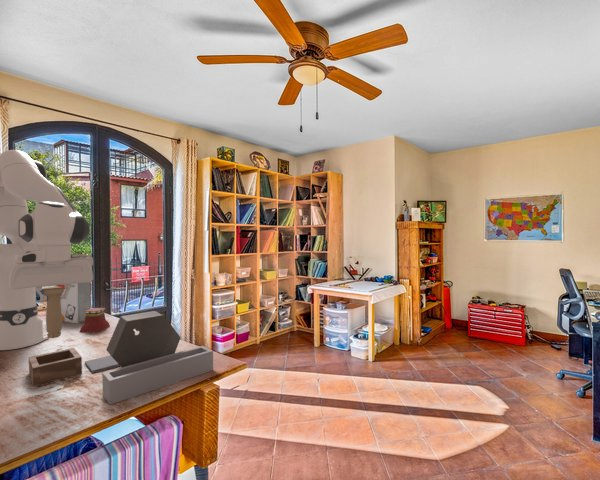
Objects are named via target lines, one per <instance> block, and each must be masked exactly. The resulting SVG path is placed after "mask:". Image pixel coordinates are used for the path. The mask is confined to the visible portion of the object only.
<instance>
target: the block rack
mask: <svg viewBox="0 0 600 480" xmlns="http://www.w3.org/2000/svg"><path fill="white" fill-rule="evenodd" d="M212 371H214V350H212V349H211V348H208V347H206V346H204V345H200V346H196V347H194V348H189V349H186V350H182V351H177V352H175V353H174V354H170V355H167V356H163V357H159V358H155V359H152V360H148V361H144V362H141V363H137V364H133V365H129V366H126V367H117V368H115V369H112V370H111V369H110V370H107V371H104V372H102V373H101V374H102V377H101V378H102V396H103V398H104V399H105V401H106V402H107V403H108V404H109V405H113V404H116V403H119V402H123V401H125V400H127V399H132V398H135V397H137V396H140V395H143V394H146V393H149V392H152V391H155V390H158V389H161V388H163V387H164V388H165V387H167V386H170V385H172V384H176V383H179V382H182V381H185V380H187V379H191V378H194V377H197V376H200V375H203V374H205V373H208V372H212Z"/></svg>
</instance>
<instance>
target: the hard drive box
mask: <svg viewBox="0 0 600 480" xmlns="http://www.w3.org/2000/svg"><path fill="white" fill-rule="evenodd" d="M91 282H92V281H91ZM91 282H89V283H78V284H71V289H70V290H69V292H68V293H67V299H62V300H61V299H60V300H61V312H62V322H65V323H72V324H73V323H74V324H81V323H83V322H85V316H86V313H85V312H84V311H86V310H89V309H92V302H91V301H92V292H91V291H92V289H91V288H92V287H91ZM53 287H64V291H65V289H66V288H65V285H56V286H53ZM63 293H64V292H63Z"/></svg>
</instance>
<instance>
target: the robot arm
mask: <svg viewBox="0 0 600 480" xmlns="http://www.w3.org/2000/svg"><path fill="white" fill-rule="evenodd" d="M27 201H30V202H36V204H35V207H34V210H33V211H32V212H31V213H29V206H28V203H27ZM90 231H91V230H90V224H89V221H88V220H87V219H86V218H85V217H84V216H83V215H82V214H81V213H80V212H79V211H78V210H77V209H76V207H75V206H74V205H73V203H72V202H71V201H70V199H69V198H68V197H67V195H66V194H65V193H64V191H63V190H62V189H61V188H60V187H58V186H57V185H56V184H54V183H52V182H51V181H49V180H48V179H47V170H46V167H45V165H44V164H43V163H42V162H41V161H38V160H34V159H33V158H31V156H30V155H28V153H26V152H24V151H21V150H18V149H10V150H9V149H8V150H4V151H3V152H1V153H0V235H1V236H4V237H6V238H7V239H8V240H9V241H10V242H11V243H2V244H0V351H9V350H10V351H11V350H17V349H22V348H26V347H30V346H33V345H36V344H38V343H41V342H43V341H45V340H46V341H47V340H48V339H50V338H48V337H47V333H46V334H45V333H44V322H43V318H41V317H39V316H38V314H39V308H38V305H37V295H39V298H40V299H39V301H40V302H41V303H42V302H43V303H44V302H47V296H46V295H44V294H43V292H41V291H43V288H46V287H54V286H56V285H65V288H66V289H65V291H64V293H62V294H61V295H60V299H61V300H62V299H67V293H68V292H69V290H70V289H71V284H78V283H89V282H92V281H93V279H94V274H93V268H92V267H93V265H94V258H93V256H91V255H90V254H88V253H80V254H78V253H72V245H73V244H75V245H78V244H79V245H80V243H82V242H84V241H85V240H86V239H87V238H88V237H89V235H90Z"/></svg>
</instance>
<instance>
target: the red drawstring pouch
mask: <svg viewBox="0 0 600 480" xmlns="http://www.w3.org/2000/svg"><path fill="white" fill-rule="evenodd" d="M105 310H106V307H91V309H89V310H86V311H84V312H85V313H86V316H85V321H83V322H84V324H83V325H82V326H81V327H80V330H79V333H100V332H102V331H104V330H107V329H109V328H110V327H111V325H110V322H108V320H107V319H106V316H105Z"/></svg>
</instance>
